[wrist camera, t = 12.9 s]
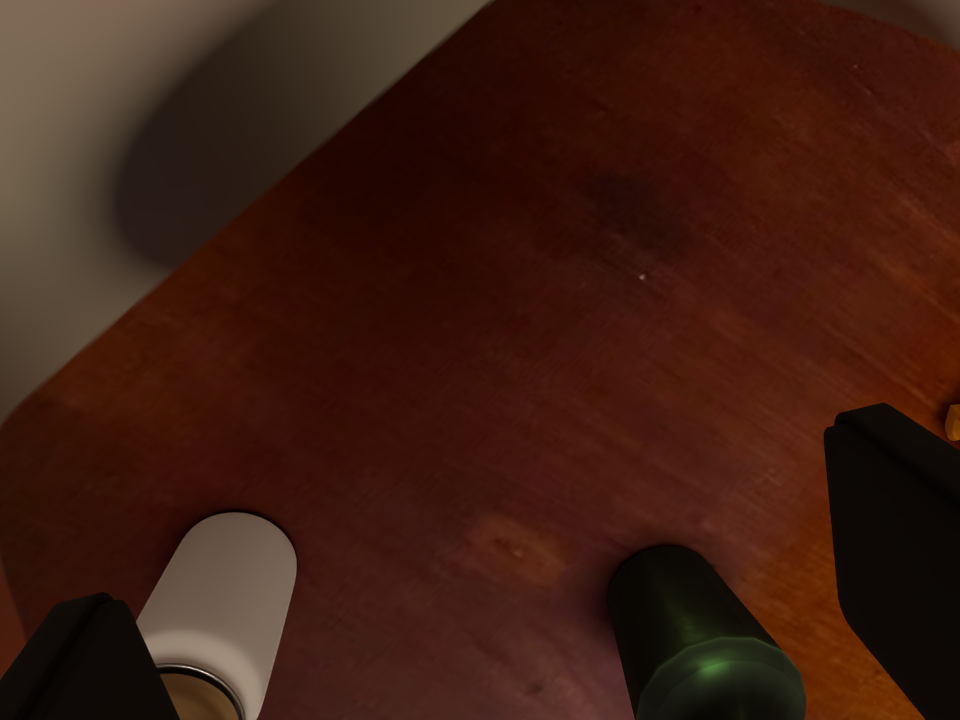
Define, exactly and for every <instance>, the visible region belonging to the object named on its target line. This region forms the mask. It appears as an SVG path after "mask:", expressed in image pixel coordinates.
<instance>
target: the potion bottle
mask: <svg viewBox="0 0 960 720" xmlns="http://www.w3.org/2000/svg"><path fill="white" fill-rule="evenodd" d="M607 604H608V609H609V613H610V617H611V621H612V625H613V629H614V634H615V638H616V642H617V646H618V650H619V655H620V659H621V663H622V667H623V671H624V675H625V680H626V684H627V688H628V692H629V696H630V701H631V705H632V709H633V713H634V717H635V720H804V718H805V712H806V695H805V691H804V686H803V681H802V676H801V672H800V671H799V670H798V668H797V667H796V666H795V665H794V664H793V662H792V661H791V660H790V659H789V658H788V657H787V655H786V654H785V653H784V652H783V651H782V649H781V648H780V647H779V646H778V645H777V644H776V642H775V641H774V640H773V639H772V638H771V636H770V635H769V634H768V633H767V632H766V631H765V629H764V628H763V627H762V626H761V625H760V623H759V622H758V621H757V620H756V619H755V618H754V616H753V615H752V614H751V613H750V612H749V611H748V609H747V608H746V607H745V606H744V605H743V603H742V602H741V601H740V600H739V599H738V598H737V596H736V595H735V594H734V593H733V592H732V591H731V589H730V588H729V587H728V586H727V585H726V583H725V582H724V581H723V580H722V579H721V578H720V576H719V575H718V574H717V573H716V572H715V570H714V569H713V568H712V567H711V566H710V565H709V563H708V562H707V561H706V560H705V559H704V558H703V556H701V555H699V554H697V553H695V552H693V551H691V550H689V549H686V548H684V547H671V546H660V547H657V548H654V549H650V550H647V551H644V552H640V553H639V554H637V555H636V556H635V557H633V558H632V559H631V560H629V561H628V562H626V563H625V564H624V565H622V567H621V568H620V570H619V571H618V573H617V574H616V576H615V577H614V579H613V580H612V582H611V583H610V589H609V595H608V601H607Z"/></svg>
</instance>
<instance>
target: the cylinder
mask: <svg viewBox="0 0 960 720" xmlns="http://www.w3.org/2000/svg"><path fill="white" fill-rule="evenodd" d="M160 676H161V678H162V680H163V683H164V685H165V687H166V689H167V691H168V694H169V696H170V698H171V700H172V702H173V704H174V707H175V709H176V711H177V713H178V715H179V718H180V720H239V719H238V715H237V712H236V710H235V708H234V706H233V705H232V703H231V701H230V700H229V699H228V698H227V697H226V695H225V694H224V693H222V692H221V691H220V690H219V689H218V688H216V687H215V686H213V685H212V684H210V683H208V682H206V681H204V680H201V679H199V678H196V677H192V676H189V675H183V674H172V673H170V674H160Z"/></svg>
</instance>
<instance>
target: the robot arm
mask: <svg viewBox="0 0 960 720" xmlns="http://www.w3.org/2000/svg"><path fill="white" fill-rule="evenodd" d="M824 448H825V459H826V470H827V481H828V492H829V503H830V513H831V524H832V535H833V546H834V557H835V568H836V579H837V590H838V598H839V603H840V607H841V610H842V612H843V615H844V617H845V619H846V621H847V623H848V624H849V626H850V627H851V628H852V630H853V631H854V632H855V633H856V635H857V636H858V637H859V638H860V640H861V641H862V642H863V643H864V644H865V646H866V647H867V648H868V649H869V651H870V652H871V653H872V654H873V655H874V657H875V658H876V659H877V660H878V662H879V663H880V664H881V665H882V667H883V668H884V669H885V670H886V671H887V673H888V674H889V675H890V676H891V678H892V679H893V680H894V681H895V683H896V684H897V685H898V686H899V687H900V689H901V690H902V691H903V692H904V694H905V695H906V696H907V697H908V698H909V700H910V701H911V702H912V703H913V705H914V706H915V707H916V708H917V710H918V711H919V712H920V713H921V714H922V716H923V717H924V718H925V719H926V720H960V451H959V450H958V449H956V448H954V447H953V446H951V445H950V444H948V443H947V442H945V441H944V440H942V439H941V438H939V437H938V436H936V435H935V434H933V433H931V432H930V431H928V430H927V429H925V428H924V427H922V426H921V425H919V424H918V423H916V422H915V421H913V420H912V419H910V418H908V417H907V416H905V415H904V414H902V413H901V412H899V411H898V410H896V409H895V408H893V407H892V406H890V405H888V404H886V403H879V404H875V405H871V406H867V407H863V408H859V409H854V410H850V411H846V412H842V413H839V414H838V415H837V416H836V419H835V422H834V426H832V427H827V428H826V430H825V432H824ZM0 720H180V718H179V715H178V713H177V711H176V709H175V707H174V704H173V702H172V700H171V698H170V696H169V694H168V691H167V689H166V687H165V685H164V683H163V680H162V678H161V676H160V674H159V672H158V670H157V667H156V665H155V663H154V661H153V659H152V656H151V654H150V652H149V650H148V648H147V645H146V643H145V641H144V639H143V637H142V635H141V632H140V630H139V628H138V626H137V624H136V621H135V619H134V617H133V615H132V613H131V611H130V609H129V607H128V605H127V604H126V603H125V602H124V601H122V600H115V601H114V599H113V598H112V597H111V596H110V595H109V594H107V593H103V592H101V593H97V594H93V595H89V596H85V597H81V598H77V599H73V600H69V601H64V602H61V603H58V604H56V605H55V606H54V607H53V608H52V609H51V611H50V612H49V613H48V615H47V616H46V618H45V619H44V620H43V622H42V623H41V625H40V626H39V627H38V629H37V630H36V631H35V633H34V634H33V636H32V637H31V638H30V640H29V641H28V643H27V644H26V645H25V647H24V648H23V650H22V651H21V653H20V654H19V655H18V656H17V658H16V659H15V661H14V662H13V663H12V665H11V666H10V668H9V669H8V670H7V672H6V673H5V674H4V676H3V677H2V679H1V680H0Z"/></svg>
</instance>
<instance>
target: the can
mask: <svg viewBox="0 0 960 720" xmlns="http://www.w3.org/2000/svg"><path fill="white" fill-rule="evenodd" d="M296 572H297V561H296V554H295V551H294V548H293V546H292V544H291V542H290V541H289V539H288V538H287V537H286V535H285V534H284V533H283V532H282V531H281V530H280V529H279V528H278V527H276V526H275V525H274V524H272V523H271V522H269V521H267V520H265V519H263V518H261V517H258V516H255V515H251V514H247V513H238V512H231V513H222V514H218V515H214V516H211V517H209V518H206V519H204V520H202V521H201V522H199V523H198V524H196V525H195V526H194V527H193V528H192V529H191V530H190V531H189V532H188V533H187V534H186V535H185V537H184V538H183V540H182V541H181V543H180V545H179V546H178V548H177V550H176V551H175V553H174V555H173V557H172V558H171V560H170V562H169V564H168V565H167V567H166V569H165V571H164V573H163V574H162V576H161V578H160V580H159V582H158V583H157V585H156V587H155V589H154V590H153V592H152V594H151V596H150V598H149V599H148V601H147V603H146V605H145V607H144V608H143V610H142V612H141V614H140V616H139V617H138V619H137V621H136V624H137V626H138V628H139V630H140V632H141V635H142V637H143V639H144V641H145V643H146V645H147V648H148V650H149V652H150V654H151V656H152V659H153V661H154V663H155V665H156V667H157V670H158V672H159V674H170V673H172V674H183V675H189V676H192V677H196V678H199V679H201V680H204V681H206V682H208V683H210V684H212V685H213V686H215V687H216V688H218V689H219V690H220V691H221V692H222V693H224V694H225V695H226V697H227V698H228V699H229V700H230V701H231V703H232V705H233V706H234V708H235V710H236V712H237V715H238V719H239V720H256V719H257V717H258V715H259V713H260V710H261V707H262V704H263V701H264V697H265V694H266V690H267V686H268V683H269V679H270V675H271V672H272V668H273V664H274V661H275V657H276V653H277V649H278V646H279V642H280V638H281V634H282V630H283V627H284V623H285V619H286V615H287V611H288V607H289V604H290V600H291V596H292V592H293V588H294V584H295V579H296Z"/></svg>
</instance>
